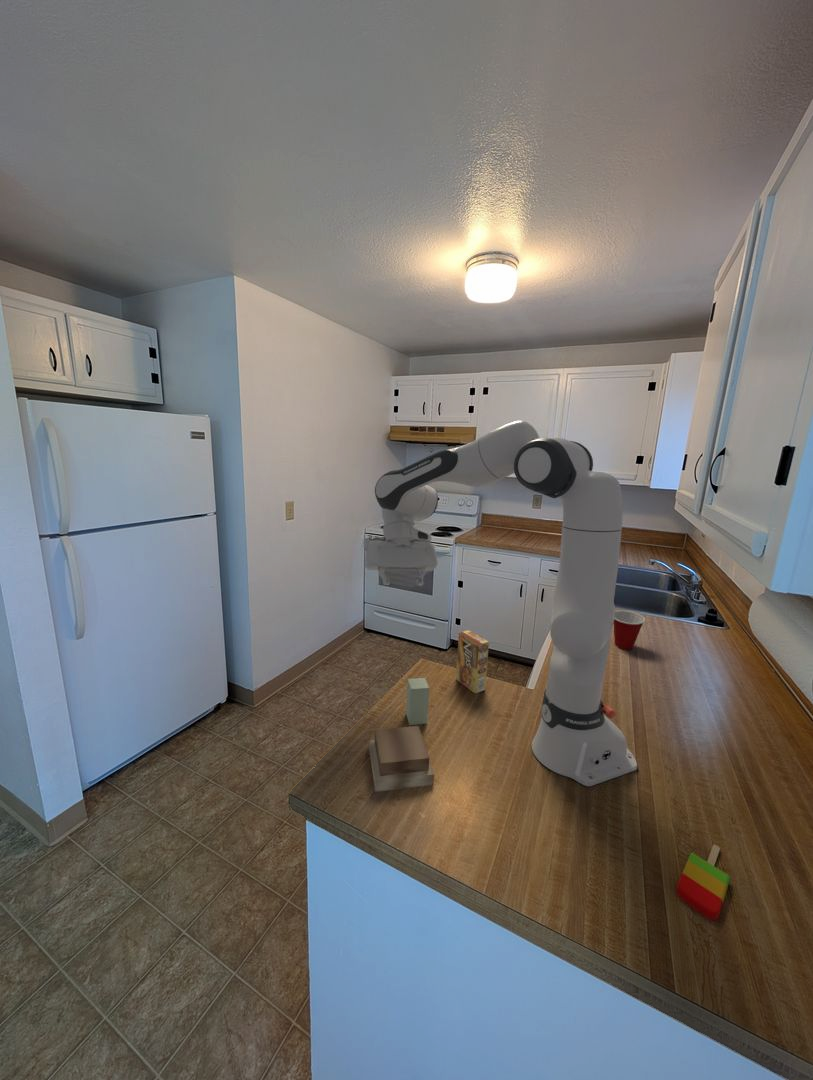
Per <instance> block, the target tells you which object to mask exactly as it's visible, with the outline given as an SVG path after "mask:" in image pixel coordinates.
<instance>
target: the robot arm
mask: <svg viewBox="0 0 813 1080" xmlns="http://www.w3.org/2000/svg"><path fill="white" fill-rule="evenodd" d="M593 459H594V458H593V457H592V454H591V452H590V450H589V449H588V448H587V447H586V446H584V445H583V444H581V443H580V442H576V441H573V440H568V439H566V438H563V437H562V438H559V437H551V438H550V437H540V435H539V434H538V432H537V430H536V429H535V428H534V426H533V425H532V424H530V423H529V422H527V421H525V420H515V421H512V422H509V423H507V424H506V423H505V424H504V425H501V426H499V427H497V428H494V429H493V430H491V431H488V432H487V433H485V434H484V435H482V436H481V437H479V438H476V439H475V440H472V441H471V442H468V443H465V444H463V445H460V446H458V447H453V448H449V449H444V450H440V451H437V452H435V453H432V454H431V455H428V456H426V457H424V458H422V459H421V460H418V461H416V462H414V463H411V464H409V465H407V466H405V467H404V468H401V469H397V470H394V469H393V470H389V471H388V472H386V473H384V474H383V475H382V476H380V477H379V478H378V480H377V482H376V484H375V487H374V495H375V498H376V502H377V503H378V505H379V507H380V508H381V517H382V520H383V527H382V532H383V536H369V537H367V538H364V541H363V549H364V551H365V554H364V555H365V556H364V567H365V568H366V570H370V571H374V570H375V571H378V572H377V573H378V576H380V578H381V580H382V584H383V585H384V586H389V585H390V584H391V577H388V576H387V575H386V573H385V571H413V572H414V571H418V574H419V577H417V579H415V581H416V586H423V585H424V577H425V576H426V573H427V572H432V571H434V570H435V569H436V568H437V567H438V562H439V561H438V556H437V552H436V549H435V545H434V544H433V543H431V541H432V534H431V533H428V532H426V531H422V530H420V529H418V528H416V527H415V525H414V523H416V522H420V521H424V520H426V519H428V518H430V517H431V516H432V515H434V513H435V512H436V510H437V508H438V504H439V496H438V493H437V492H438V491H437V490H436V489H435V488H434V487H432V486H430V484H432V483H437V482H449V483H455V484H460V485H465V486H469V487H474V488H481V487H486V486H487V487H488V486H490V485H493V484H495V483H498V482H499V481H501V480H503V479H505V478H507V477H509V476H511V475H513V474H514V475H515V477H516V480H517V481H518V482H519V483H520V484H521V485H522V486H523V487H525V488H527V489H528V490H530V491H532V492H534V493H535V492H536V493H537V494H541V495H544V496H545V497H548V498H552V499H557V498H559V499H560V501H561V503H562V510H563V511H562V523H561V525H562V526H561V539H560V553H559V554H560V555H559V566H558V571H557V577H556V582H555V589H554V594H553V602H552V610H551V617H550V618H551V619H550V625H549V627H550V628H549V630H550V632H549V634H550V638H551V641H552V644H553V649H552V651H551V652H552V654H551V656H550V660H549V667H548V675H547V682H546V688H545V689H544V692H543V697H542V698H543V699H542V704H541V705H542V706H541V719H540V722H539V725H538V729H537V731H536V733H535V736H534V738H533V739H532V742H531V749H532V752H533V755H534V756H535V758H537V760H538V761H539V762H540V763H541V764H542V765H543V766H544V767H546V768H547V769H549V770H551V771H552V772H554V773H556V774H558V775H561V776H565V777H567V778H570V779H573V780H575V781H576V782H578V783H579V784H581V785H583V786H586V787H592V786H595V785H597V784H601V783H604V782H606V781H609V780H612V779H614V778H618V777H620V776H623V775H626V774H629V773H631V772H635V771H636V770H637V769H638V764H637V763H638V762H637V760H636V757H635V756H634V755H633V753H632V752H631V751H630V749H629V748H628V745H627V744H628V743H627V740H626V737H625V735H624V733H623V732H622V730H620V728H619V727H618V726H617V725H616V724H615V723H614V722H613V721H611V719H614V718H615V717H616V715H617V712H616V710H615V709H613V708H612V707H611V706H610V705H605V704H604V702H603V701H602V700H601V699H602V698H601V697H602V691H603V687H604V678H605V673H606V667H607V664H608V663H607V662H608V656H609V650H610V646H611V639H612V635H613V634H612V633H613V630H614V617H615V611H616V606H615V603H614V602H615V601H614V600H615V595H616V584H617V578H618V571H619V564H620V563H619V562H620V561H619V560H620V550H621V541H622V530H623V512H624V511H623V497H622V494H623V493H622V489H621V484H620V481H619V480H618V479H617V478H616V477H614V476H613V475H612V474H610V473H606V472H604V471H593V467H594V460H593Z"/></svg>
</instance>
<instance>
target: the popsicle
mask: <svg viewBox="0 0 813 1080" xmlns="http://www.w3.org/2000/svg"><path fill="white" fill-rule="evenodd" d="M720 850H721V847H719V846H718V845H716V844H712V847H711V850H710V853H709V856H708V859H707V860H705V859H703V858H701V857H700V856H699V855H697V854H695V853H694V852H690V853H689V856H688V858H687V861H686V863H685V866H684V868H683V871H682V873H681V874H680V877H679V879H678V882H677V884H676V888H675V889H676V891H675V892H676V895H677V897H678V898H679V899H680V900H682V901H683V902H684V903H685V904H687V905H689V906H690V907H691V908H693V909H694V910H695V911H696V912H697V913H700V914H701V915H702V916H704V917H706V918H707V919H708V920H711V921H717V920H718V918H720V917H719V916H720V914H721V909H723V908H722V907H723V904H724V901H725V897H726V894H727V892H728V888H729V885H730V880H731V879H730V878H731V877H730V875H729V874H727V873H726V872H724V871H722V870H721V869H719V868H718V867H716V866H715V864H716V862H717V858H718V856H719V853H720Z"/></svg>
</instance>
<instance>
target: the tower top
mask: <svg viewBox="0 0 813 1080" xmlns="http://www.w3.org/2000/svg"><path fill="white" fill-rule="evenodd" d="M423 738H424V737H423V735H422V731H421V729H420V726H419V725H411V726H405V727H403V726H402V727H393V728H392V727H391V728H384V729H374V739H375V747H376V753H377V759H378V765H379V771H380V776H386V775H395V774H403V773H412V772H420V771H429V761H430V756H429V752H428V750H427V747H426V744H425V741H424V739H423Z"/></svg>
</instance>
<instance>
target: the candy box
mask: <svg viewBox="0 0 813 1080" xmlns="http://www.w3.org/2000/svg"><path fill="white" fill-rule="evenodd" d="M489 647H490V642H489V640H487V639H485V638H483V637H482V636H480V635H478V634H477V633H474V632H473V631H471V630H469V629H467V630H464V631H461V632H458V640H457V655H456V656H457V658H456V674H455V680H457V681H458V682H459V683H460V684H462V685H463V686H464V687H466V688H467V689H468V690H469V691H471V692H472V693H473V694H475V695H476V694H479V693H481V692H483V691H485V690H486V686H487V685H486V684H487V672H488V660H489V659H488V658H489ZM472 674H473V675H472Z"/></svg>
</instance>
